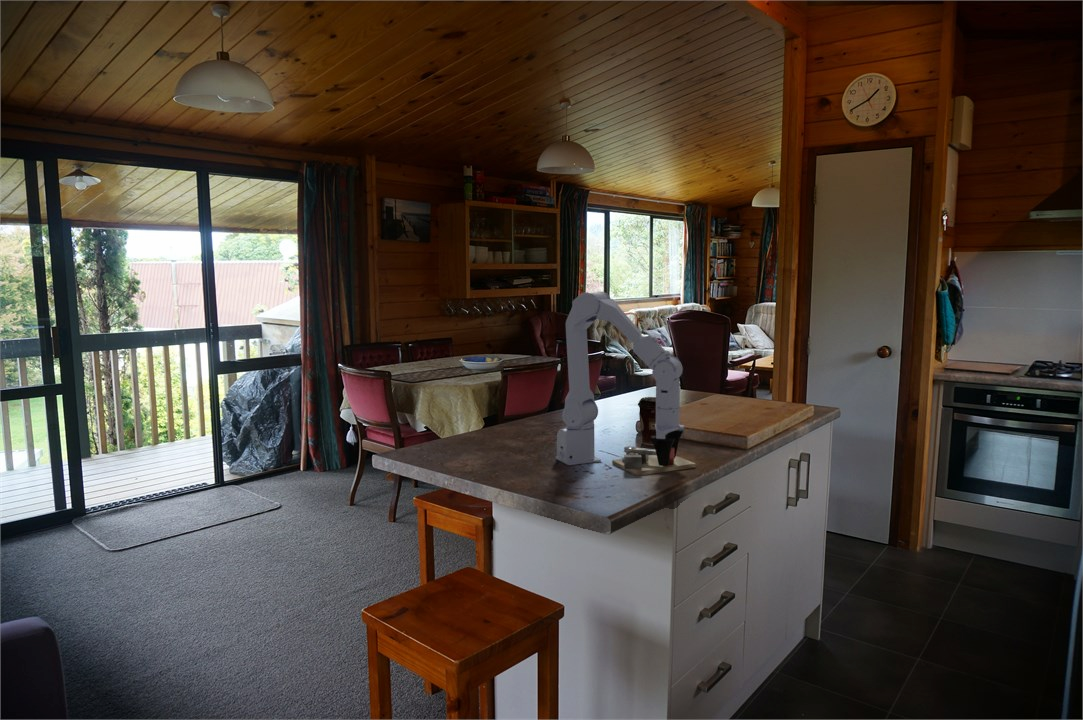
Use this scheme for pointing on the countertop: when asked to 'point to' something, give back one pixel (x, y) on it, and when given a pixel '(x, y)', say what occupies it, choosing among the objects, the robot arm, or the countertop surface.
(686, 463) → the cracker base
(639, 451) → the lever
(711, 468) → the countertop surface
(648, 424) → the coffee cup
